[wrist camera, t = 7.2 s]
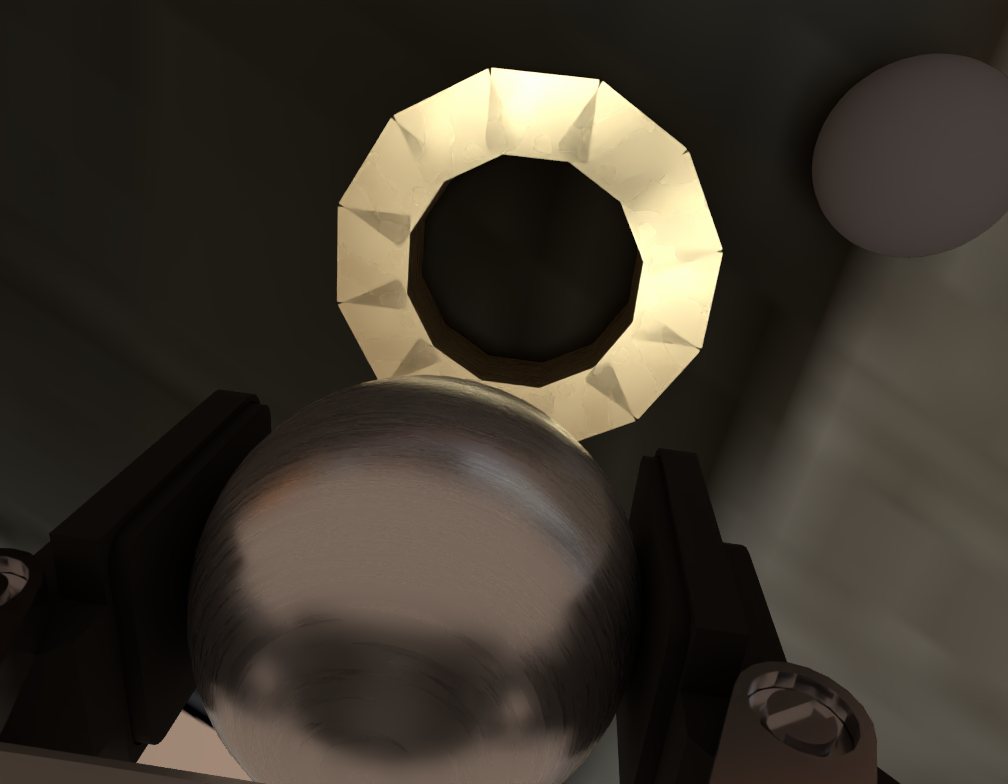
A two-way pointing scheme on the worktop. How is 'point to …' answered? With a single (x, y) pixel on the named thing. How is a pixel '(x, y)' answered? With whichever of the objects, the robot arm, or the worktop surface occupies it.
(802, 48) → the worktop surface
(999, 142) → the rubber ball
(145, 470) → the robot arm
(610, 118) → the gold faceted ring
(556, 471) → the steel ball
